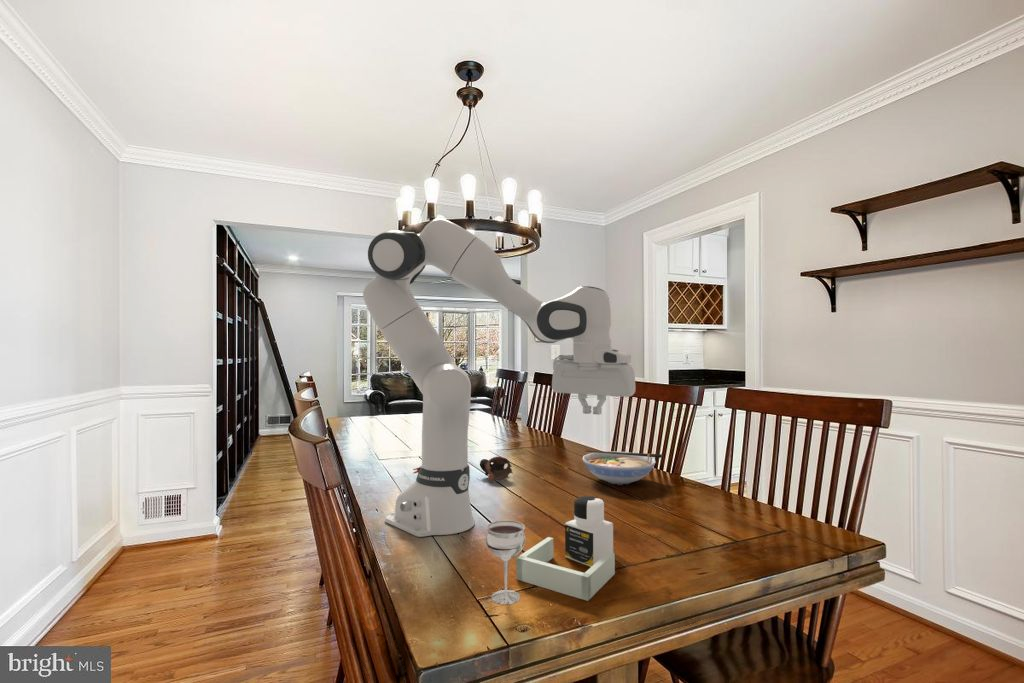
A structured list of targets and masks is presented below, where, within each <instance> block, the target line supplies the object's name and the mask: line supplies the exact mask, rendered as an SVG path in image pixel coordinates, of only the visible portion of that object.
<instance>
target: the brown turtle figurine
mask: <svg viewBox="0 0 1024 683" xmlns="http://www.w3.org/2000/svg"><path fill="white" fill-rule="evenodd" d="M506 465H507V466H506ZM479 466H480V469H481V470H482V471H483V472H484V474H485V476H488V478H487V481H488V482H489V483H491V482H492V483H493V482H494V481H498V480H500V479H505V478H506V477H509V475H510V474H513V470H512V465H511V463H510V460H509V459H507V458H506V457H503V456H494V457H491V458H490V459H487V458H483V459H481V460H480V461H479ZM505 466H506V468H505Z"/></svg>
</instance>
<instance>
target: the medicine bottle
mask: <svg viewBox="0 0 1024 683" xmlns="http://www.w3.org/2000/svg"><path fill="white" fill-rule="evenodd" d="M573 518H574V519H571V520H569V521H566V522H565V524H564V541H565V542H564V544H565V545H564V547H565V548H564V556H565V558H567V559H569V560H572V561H575V562H577V563H580V564H582V565H584V566H587V567H589V568H591V567H592V566H593V565H594V564H595V563H596V562H597V561H598V560H600V559H601V558H602V557H603V556H604V555H605V554H606V553H607V552H613V553H614V523H613V522H611V521H608V520H606V519H605V501H603V499H601V498H599V497H597V496H593V495H583V496H580V497H577V498H576V499H574V501H573Z"/></svg>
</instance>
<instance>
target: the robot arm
mask: <svg viewBox="0 0 1024 683" xmlns="http://www.w3.org/2000/svg"><path fill="white" fill-rule="evenodd" d="M367 259H368V262H369V265H370V268H371V269H372V270H373V271H374V272H375V273H376V276H375V277H374V278H372V279H371V280H369V282H368V283H366V285H365V287H364V288H363V291H362V298H363V301H364V303H365V305H366V308H367V309H368V312H369V314H370V315H371V318H372V319H373V322H374V324H375V325H376V326H377V328H378V329H379V331H380V333H381V334H382V336H383V337H384V339H385V340H386V342H387V344H388V345H389V347H390V348H391V350H392V351H393V352H394V354H395V356H397V359H398V360H399V362H400V363H401V364H402V366H403V367H404V369H405V370H406V372H407V373H408V374H409V376H410V378H411V379H412V380H413V382H414V383H415V385H416V387H417V388H418V389H419V391H420V393H421V394H422V425H421V465H420V466H419V467H416V468H413V469H412V471H414V472H412V473H413V474H417V475H416V478H415V481H414V482H412V483H411V484H410V485H409V486H408V487H407V488H405V489H404V490H402V491H401V493H399V494H398V495H397V497H396V501H395V506H394V507H395V508H394V511H392V512H391V513H390V512H389V514H388V515H386V516H385V519H384V522H385V523H386V524H389V525H391V526H393V527H396V528H398V529H400V530H402V531H404V532H406V533H408V534H411V535H413V536H415V537H418V538H420V537H421V538H422V537H428V536H445V535H446V536H447V535H455V534H458V533H459V534H460V533H463V532H465V531H468V530H469V529H472V527H474V525H475V524H476V523H475V519H474V518H475V517H474V515H473V512H472V506H471V500H470V499H471V498H470V497H471V496H470V493H469V492H470V491H469V489H470V488H469V487H470V480H471V479H470V478H471V477H470V476H471V475H470V474H471V472H470V471H471V469H470V464H468V461H469V459H468V457H469V456H468V451H469V450H468V449H469V448H468V447H469V443H468V441H469V440H468V437H469V431H468V430H469V425H470V424H469V423H470V414H471V413H470V412H471V395H472V384H471V380H470V377H469V375H468V374H467V372H466V371H465V370H464V369H462V368H461V367H459V366H458V365H457V364H456V362H455V361H454V359H453V357H452V356H451V354H450V352H449V351H448V349H447V347H446V345H445V344H444V342H443V341H442V339H441V337H440V335H439V333H438V331H437V330H436V328H435V327H434V325H433V323H432V322H431V321H430V319H429V317H428V316H427V314H426V313H425V311H424V310H423V309H422V307H421V305H420V304H419V302H418V301H417V300H416V298H415V296H414V295H413V293H412V291H411V287H410V285H411V284H413V283H414V281H415V280H416V279H417V278H418V276H420V274H421V273H422V272H423V270H424V269H425V268H426V266H432V267H436V269H439V270H440V271H442V272H443V273H445V274H446V275H448V276H449V277H451V278H452V279H453V280H454V281H457V282H458V283H459V284H462V285H463V286H465V287H466V288H469V289H471V290H473V291H476V292H478V293H480V294H482V295H485V296H487V297H489V298H491V299H492V300H495V301H496V302H498V303H499V304H501V305H502V306H504V307H505V308H506V309H507V310H509V311H510V312H512V313H513V314H515V315H516V316H517V317H519V318H520V319H521V320H522V321H523V322H524V323H525V324H526V326H527V327H528V329H529V330H530V332H531V334H532V335H533V337H534V338H535V339H536V340H538V341H539V342H541V343H544V344H555V343H558V342H560V341H561V342H562V341H564V340H566V339H572V341H573V343H572V344H573V345H572V346H573V348H572V351H573V352H572V353H573V354H568V355H567V354H560V355H558V356H557V357H555V358H554V359H553V361H552V369H553V373H552V378H551V379H552V380H551V389H552V391H553V392H554V393H557V394H573V395H575V394H576V395H577V396H578V397H577V398H578V401H579V403H580V405H581V406H582V413H583V414H585V415H586V414H587V415H591V413H592V415H597V416H598V415H602V409H603V408H602V407H603V406H604V404H605V402H606V401H607V397H623V398H624V397H626V398H629V397H632V396H634V395H635V393H636V388H637V387H636V378H635V372H634V367H633V366H632V365H631V364H630V363H631V362H632V355H631V354H630V353H627V352H624V351H621V350H617V349H615V348H612V340H611V337H610V329H611V325H612V317H611V316H612V314H611V311H612V310H611V304H610V303H611V302H610V298H609V295H608V293H607V291H605V290H603V289H601V288H600V287H596V286H595V287H594V286H590V285H589V286H588V285H581V286H577V287H576V288H575V289H574V290H572V291H571V292H569V293H567V294H565V295H563V296H561V297H557V298H556V299H552V300H549V301H547V302H546V301H542V300H539V299H538V298H536V297H535V296H534V295H532V294H531V293H530V292H528V291H527V290H525V289H524V288H523V287H521V286H520V285H518V284H517V283H516V282H515V281H514V280H512V278H511V277H510V276H509V274H508V273H507V271H506V269H505V267H504V264H503V262H502V259H501V258H500V256H499V255H498V254H497V253H496V252H495V251H494V250H493V249H492V247H490V246H489V245H488V244H487V243H486V242H485V241H483V240H482V239H481V238H479V237H478V236H476V235H475V234H474V233H471V232H470V231H468V230H467V229H465V228H464V227H462V226H460V225H459V224H456V223H454V222H451V221H450V220H447V219H445V218H435V219H433V220H431V221H430V222H428V223H427V224H426V225H425V226H424V228H423V229H422V230H421V231H420V232H419V233H418V234H417V233H415V232H414V231H404V230H387V231H383V232H381V233H379V234H377V235H376V236H375V237H374V238H373V239H372V240H371V242H370V243H369V245H368V249H367ZM588 396H596V400H597V401H598V402H597V403H596V405H595V406H593V407H592V405H589V403H588V402H587V400H586V399H588Z"/></svg>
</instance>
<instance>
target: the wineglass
mask: <svg viewBox="0 0 1024 683" xmlns="http://www.w3.org/2000/svg"><path fill="white" fill-rule="evenodd" d="M525 529H526V527H525V525H524V524H523V523H522V522H519V521H515V520H507V519H505V520H495V521H493V522H490V523H488V524H487V525H486V530H487V532H488V533H486V538H485V539H486V545H487V546H486V547H487V548H488V551H490V552H491V553H492V554H493V556H495V557H497V558H500V559H501V560H502V562H503V578H504V580H503V582H504V584H503V585H504V589H501V590H497V591H495V592H494V593H492V595H491V600H492V601H493V602H494V603H496V604H499V605H511V604H515V603H517V602H519V601H520V600H521V594H520V593H518V591H515V590H510V589H508V576H509V575H508V571H509V561H510V560H511V558H515V557H517V556H519V554H520V553H521V551H522V550H524V547H525V544H526V535H525V533H524V531H525Z"/></svg>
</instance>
